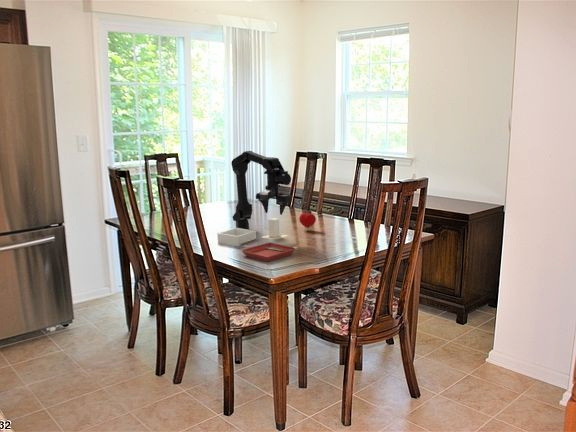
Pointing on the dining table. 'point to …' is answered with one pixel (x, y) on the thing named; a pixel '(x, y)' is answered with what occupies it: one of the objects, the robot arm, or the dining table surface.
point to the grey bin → (236, 236)
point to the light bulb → (307, 220)
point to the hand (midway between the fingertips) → (273, 213)
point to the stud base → (273, 237)
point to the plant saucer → (268, 251)
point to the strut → (273, 227)
